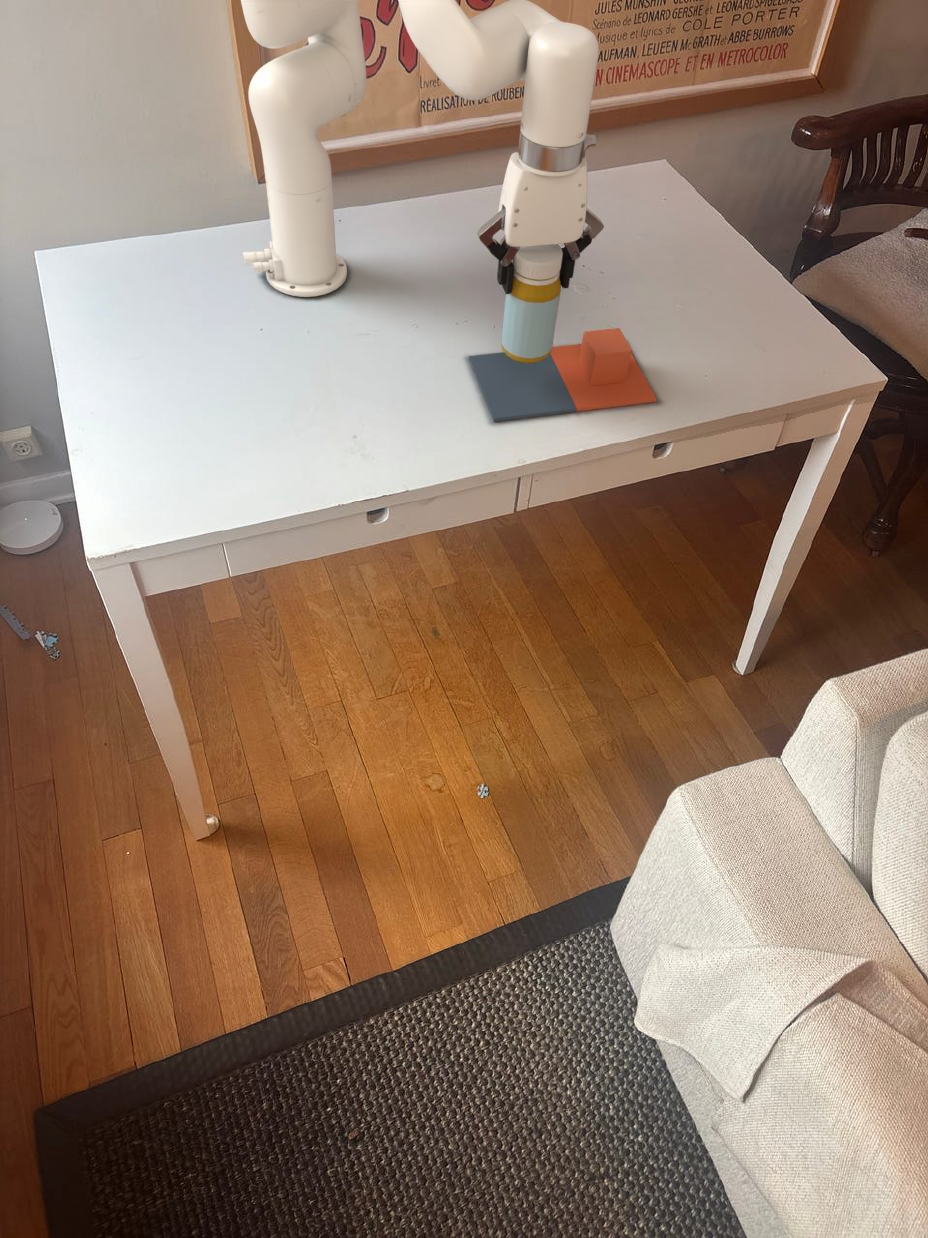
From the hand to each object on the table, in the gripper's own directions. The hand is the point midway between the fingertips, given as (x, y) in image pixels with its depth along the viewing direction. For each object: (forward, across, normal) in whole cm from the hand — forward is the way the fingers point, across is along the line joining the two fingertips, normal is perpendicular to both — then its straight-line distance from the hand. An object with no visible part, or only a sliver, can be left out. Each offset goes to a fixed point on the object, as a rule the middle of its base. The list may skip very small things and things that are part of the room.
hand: (534, 284), depth 125 cm
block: (+16, -12, 0) cm, 20 cm away
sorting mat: (+16, -6, 0) cm, 17 cm away
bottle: (+10, 0, 0) cm, 10 cm away
